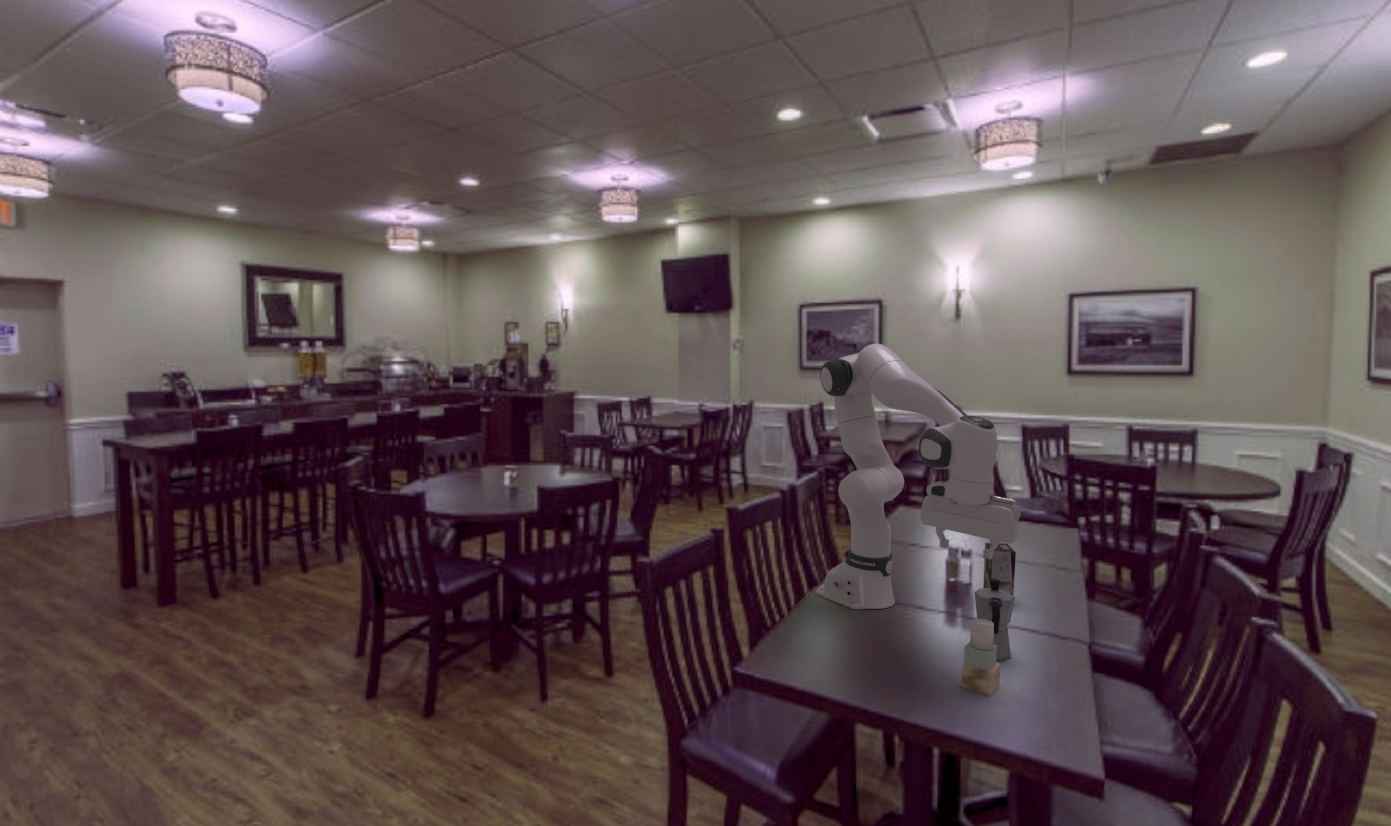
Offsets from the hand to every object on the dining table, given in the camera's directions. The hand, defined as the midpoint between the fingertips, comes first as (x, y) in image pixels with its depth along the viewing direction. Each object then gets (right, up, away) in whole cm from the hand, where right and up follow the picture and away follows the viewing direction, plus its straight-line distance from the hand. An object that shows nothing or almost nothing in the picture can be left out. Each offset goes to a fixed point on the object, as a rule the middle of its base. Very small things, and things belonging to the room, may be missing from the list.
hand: (965, 552), depth 145 cm
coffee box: (+28, -24, +45) cm, 58 cm away
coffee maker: (+11, -27, +12) cm, 31 cm away
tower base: (+2, -28, -3) cm, 29 cm away
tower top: (+2, -23, -3) cm, 24 cm away
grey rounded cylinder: (+2, -19, -4) cm, 20 cm away
